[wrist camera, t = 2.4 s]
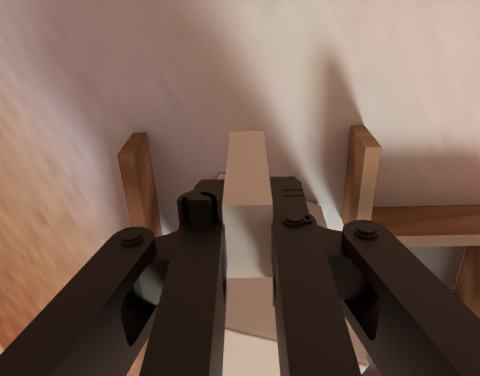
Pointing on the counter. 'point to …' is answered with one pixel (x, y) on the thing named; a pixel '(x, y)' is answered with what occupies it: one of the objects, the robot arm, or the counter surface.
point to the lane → (354, 208)
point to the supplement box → (260, 323)
